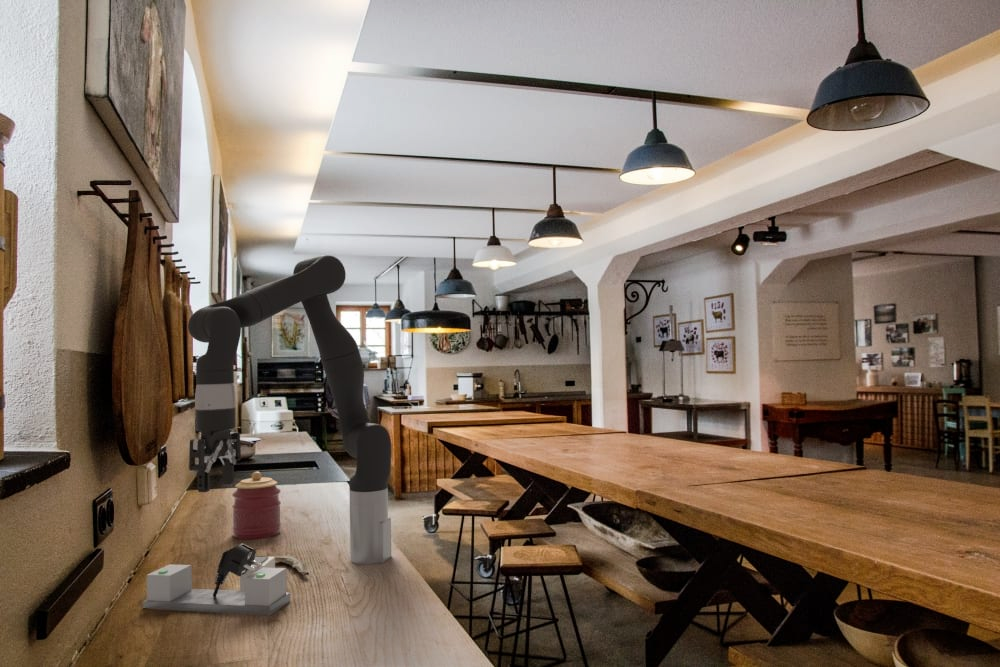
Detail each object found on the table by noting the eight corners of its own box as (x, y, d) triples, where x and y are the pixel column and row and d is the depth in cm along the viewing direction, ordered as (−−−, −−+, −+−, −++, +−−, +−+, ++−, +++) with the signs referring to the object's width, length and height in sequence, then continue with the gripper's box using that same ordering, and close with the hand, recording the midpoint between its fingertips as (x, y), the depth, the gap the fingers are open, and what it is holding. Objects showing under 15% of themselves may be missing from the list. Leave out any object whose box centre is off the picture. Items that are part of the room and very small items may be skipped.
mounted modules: (286, 593, 140) (286, 566, 140) (269, 605, 133) (268, 577, 133) (169, 588, 144) (169, 562, 144) (146, 600, 137) (146, 572, 137)
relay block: (275, 584, 152) (275, 554, 152) (263, 595, 145) (263, 564, 145) (252, 584, 152) (252, 555, 152) (240, 595, 145) (239, 564, 145)
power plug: (219, 589, 141) (239, 535, 141) (250, 605, 140) (270, 551, 139) (202, 599, 136) (222, 543, 135) (234, 616, 134) (255, 559, 134)
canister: (222, 539, 192) (222, 475, 193) (250, 527, 205) (249, 467, 205) (264, 541, 189) (263, 475, 190) (289, 529, 202) (289, 468, 202)
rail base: (290, 602, 140) (289, 592, 140) (270, 617, 132) (270, 606, 132) (169, 597, 145) (168, 587, 145) (142, 611, 137) (142, 601, 137)
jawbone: (280, 559, 172) (281, 550, 172) (337, 573, 161) (337, 563, 161) (249, 563, 165) (250, 554, 165) (306, 578, 153) (306, 568, 154)
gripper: (212, 409, 132) (213, 495, 131) (251, 403, 146) (252, 481, 145) (176, 409, 133) (177, 494, 133) (218, 404, 147) (219, 481, 147)
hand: (216, 487), depth 139 cm, fingers open, 8 cm apart
